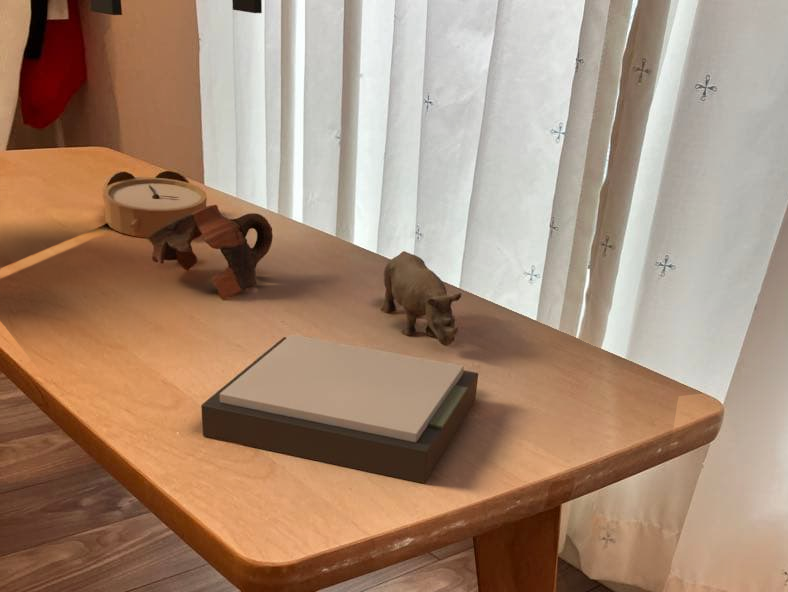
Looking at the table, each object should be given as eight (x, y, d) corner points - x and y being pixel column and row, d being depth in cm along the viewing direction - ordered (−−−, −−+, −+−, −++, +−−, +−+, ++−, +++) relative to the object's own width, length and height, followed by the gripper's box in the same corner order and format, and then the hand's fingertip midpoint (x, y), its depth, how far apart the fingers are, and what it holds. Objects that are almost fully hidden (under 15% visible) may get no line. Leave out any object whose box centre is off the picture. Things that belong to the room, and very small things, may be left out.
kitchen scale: (202, 436, 65) (200, 395, 63) (283, 364, 76) (283, 328, 75) (424, 483, 62) (428, 441, 60) (475, 401, 73) (479, 364, 71)
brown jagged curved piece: (201, 313, 86) (156, 226, 84) (169, 326, 94) (127, 247, 92) (305, 261, 91) (266, 177, 89) (266, 277, 99) (229, 201, 97)
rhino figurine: (428, 365, 79) (434, 294, 75) (372, 308, 89) (376, 244, 86) (473, 361, 80) (481, 291, 77) (413, 306, 91) (418, 242, 87)
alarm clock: (112, 213, 99) (89, 156, 109) (115, 257, 103) (93, 198, 112) (218, 210, 103) (187, 155, 113) (218, 252, 107) (187, 195, 116)
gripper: (18, -421, 52) (67, 19, 63) (334, -319, 68) (327, 15, 80) (-53, -405, 56) (6, 8, 67) (263, -312, 72) (266, 6, 84)
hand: (181, 12), depth 73 cm, fingers open, 13 cm apart
